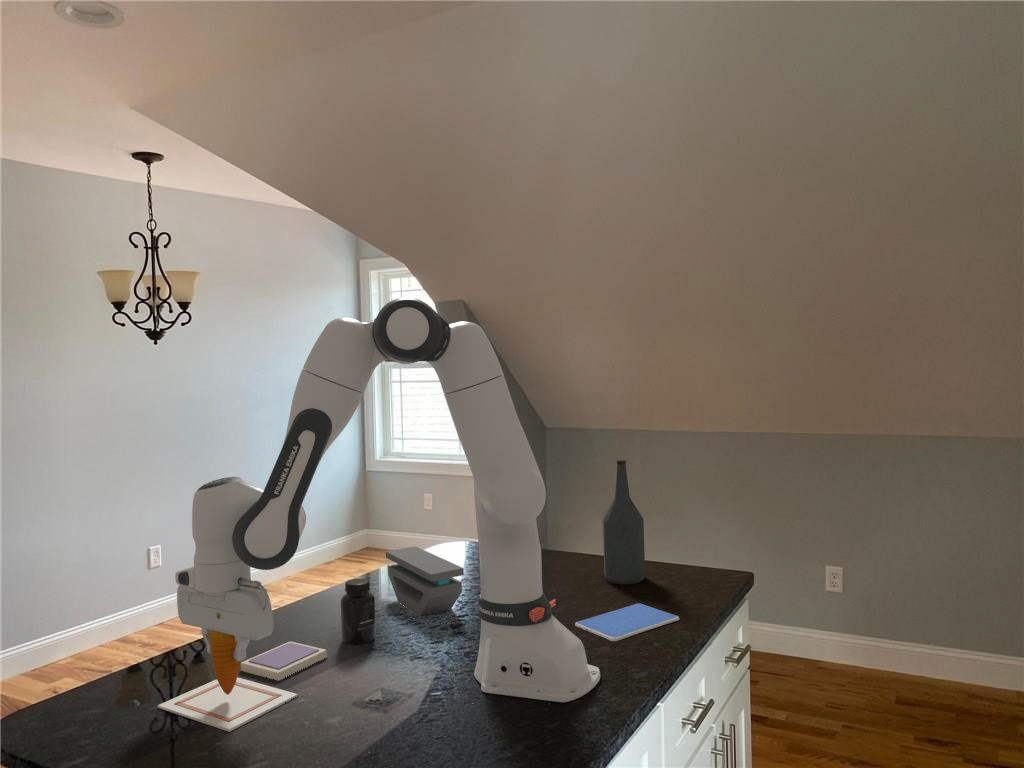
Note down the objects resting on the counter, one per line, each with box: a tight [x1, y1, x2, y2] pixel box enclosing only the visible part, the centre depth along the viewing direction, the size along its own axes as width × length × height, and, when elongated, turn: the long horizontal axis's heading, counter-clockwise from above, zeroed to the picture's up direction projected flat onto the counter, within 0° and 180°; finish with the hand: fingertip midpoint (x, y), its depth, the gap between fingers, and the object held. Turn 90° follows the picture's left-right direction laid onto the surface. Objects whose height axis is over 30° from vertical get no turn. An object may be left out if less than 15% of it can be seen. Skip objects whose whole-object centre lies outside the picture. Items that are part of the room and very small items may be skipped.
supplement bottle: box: [340, 578, 376, 646], centre depth 157 cm, size 7×7×12 cm
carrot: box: [210, 613, 241, 695], centre depth 130 cm, size 5×5×15 cm
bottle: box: [602, 459, 646, 585], centre depth 193 cm, size 10×10×30 cm
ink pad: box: [240, 641, 328, 682], centre depth 146 cm, size 10×12×2 cm
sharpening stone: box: [385, 545, 465, 617], centre depth 178 cm, size 25×8×11 cm, turn 32°
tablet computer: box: [574, 603, 680, 642], centre depth 163 cm, size 19×13×1 cm, turn 126°
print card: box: [157, 676, 299, 732], centre depth 130 cm, size 18×14×1 cm
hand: (226, 656), depth 130 cm, fingers closed on carrot, 5 cm apart
